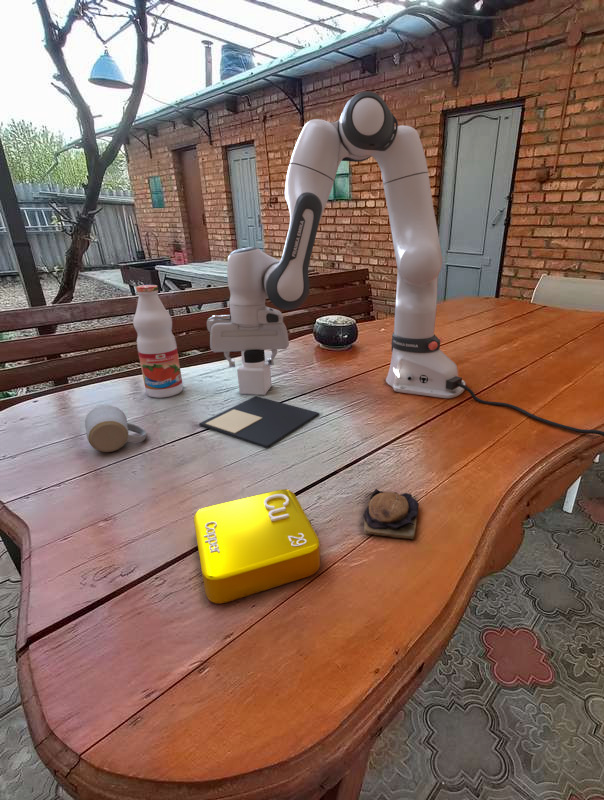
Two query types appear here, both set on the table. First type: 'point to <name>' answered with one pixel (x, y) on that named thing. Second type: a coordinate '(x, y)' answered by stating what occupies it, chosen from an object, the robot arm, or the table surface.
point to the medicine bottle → (254, 373)
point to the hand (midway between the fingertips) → (251, 365)
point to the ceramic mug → (110, 429)
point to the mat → (260, 421)
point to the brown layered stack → (391, 514)
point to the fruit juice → (156, 345)
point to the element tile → (254, 545)
